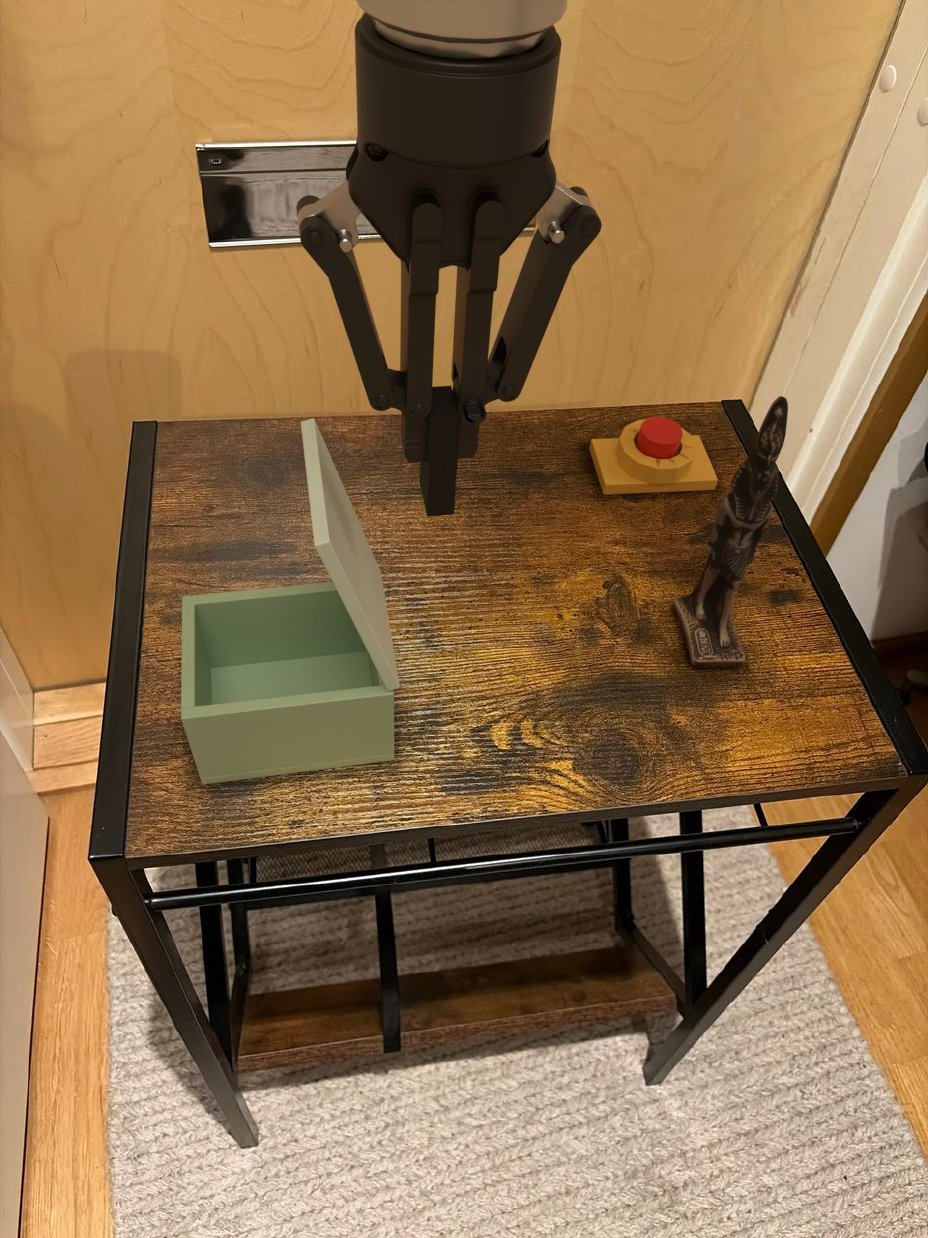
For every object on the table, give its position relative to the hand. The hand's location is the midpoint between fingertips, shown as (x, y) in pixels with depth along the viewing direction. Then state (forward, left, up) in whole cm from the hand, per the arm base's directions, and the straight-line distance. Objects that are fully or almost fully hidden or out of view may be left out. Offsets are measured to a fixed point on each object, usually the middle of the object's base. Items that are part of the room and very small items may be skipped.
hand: (436, 498), depth 52 cm
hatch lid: (+5, +2, -4) cm, 7 cm away
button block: (-11, -29, -19) cm, 37 cm away
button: (-11, -29, -17) cm, 36 cm away
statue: (-18, -12, -19) cm, 29 cm away
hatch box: (+8, +4, -19) cm, 21 cm away
